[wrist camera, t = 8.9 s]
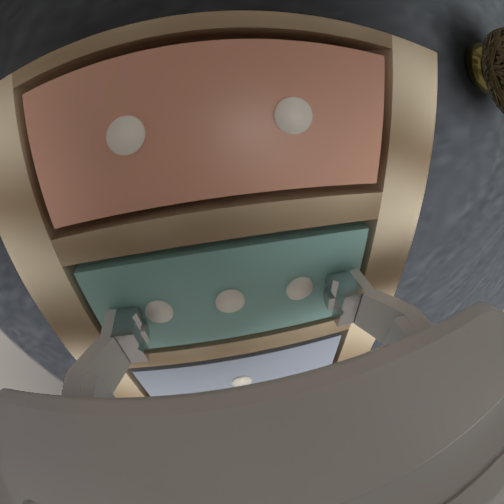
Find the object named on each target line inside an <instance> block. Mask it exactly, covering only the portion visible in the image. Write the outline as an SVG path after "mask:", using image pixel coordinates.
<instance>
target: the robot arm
mask: <svg viewBox="0 0 504 504" xmlns="http://www.w3.org/2000/svg"><path fill="white" fill-rule="evenodd" d="M325 283H326V284H327V287H326V288H325V289H324V293H323V298H324V303H325V306H326V308H327V309H328V310H329V311H331V312H332V318H333V320H334V322H335V324H336V325H337V327H340V326H344V325H348V324H351V323H354V324H355V325H357V326H358V327H359V328H361V329H362V330H364V331H365V332H367V333H368V334H370V335H371V336H373V337H374V338H376V339H377V340H379V341H380V342H381V343H383V345H382V347H380V348H378V349H375V350H372V351H369V352H367V353H364V354H361V355H358V356H355V357H352V358H349V359H346V360H343V361H340V362H337V363H333V364H330V365H327V366H323V367H320V368H316V369H313V370H309V371H305V372H302V373H298V374H294V375H290V376H286V377H281V378H277V379H273V380H268V381H263V382H258V383H253V384H248V385H243V386H237V387H231V388H225V389H218V390H211V391H204V392H196V393H187V394H177V395H165V396H150V397H123V398H116V397H115V396H114V395H113V393H114V391H115V389H116V388H117V386H118V385H119V383H120V381H121V380H122V378H123V376H124V375H125V373H126V372H127V370H128V368H129V367H130V365H131V363H138V362H147V361H149V347H148V346H147V344H148V342H149V341H150V331H149V326H148V323H147V321H146V320H145V319H143V318H142V316H143V312H142V310H141V308H140V307H128V308H118V309H109V310H107V311H106V313H105V317H104V321H103V325H102V330H101V334H100V338H97V339H96V340H95V341H94V342H93V343H92V344H91V345H90V346H89V347H88V348H87V350H86V351H85V352H84V353H83V354H82V355H81V356H80V357H79V358H78V360H77V361H76V362H75V363H74V364H73V365H72V366H71V368H70V369H69V370H68V371H67V372H66V375H65V380H64V385H63V390H62V395H61V396H59V395H49V394H40V393H31V392H25V391H18V390H13V389H7V388H4V389H1V390H0V504H504V313H503V312H502V311H501V310H499V309H497V308H495V307H493V306H491V305H489V304H487V303H484V302H477V303H475V304H473V305H471V306H470V307H468V308H466V309H464V310H462V311H460V312H458V313H457V314H455V315H453V316H451V317H449V318H447V319H445V320H443V321H441V322H439V323H437V324H435V325H431V323H430V322H429V321H428V320H427V318H426V317H425V316H424V314H423V313H422V312H421V311H420V309H419V308H417V307H414V306H412V305H410V304H408V303H406V302H404V301H402V300H399V299H397V298H395V297H393V296H391V295H389V294H387V293H384V292H382V291H380V290H375V289H374V288H373V286H372V285H371V284H370V283H369V281H368V280H367V279H366V278H365V276H364V275H363V274H362V273H361V271H360V270H359V269H357V268H356V269H352V270H348V271H344V272H339V273H334V274H330V275H327V277H326V280H325Z"/></svg>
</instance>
